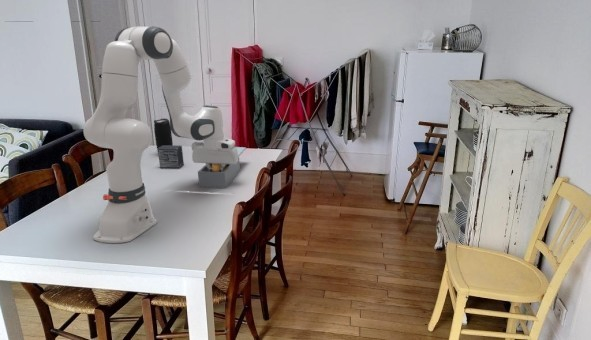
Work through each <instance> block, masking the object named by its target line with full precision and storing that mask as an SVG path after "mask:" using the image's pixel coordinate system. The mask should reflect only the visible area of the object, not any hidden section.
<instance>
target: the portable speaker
mask: <svg viewBox="0 0 591 340" xmlns="http://www.w3.org/2000/svg"><path fill="white" fill-rule="evenodd" d="M153 126H154V127H153V128H154V138H155V139H154V140H155V145H156V149H157V150H156V151H157V152H158V148H159V147H161V146H162V145H170V146H174V143H173V133H172V131H171V128H170V119H169V118H161V119H154V120H153Z"/></svg>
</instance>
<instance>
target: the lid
mask: <svg viewBox="0 0 591 340" xmlns="http://www.w3.org/2000/svg"><path fill="white" fill-rule="evenodd" d="M235 147H236V148H237V152H238V157H239V158H240V156H241V155H242V154H243V153H244V151H245V150H246V149H247V147H243V146H241V147H240V146H235Z"/></svg>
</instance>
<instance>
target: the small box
mask: <svg viewBox="0 0 591 340" xmlns="http://www.w3.org/2000/svg"><path fill="white" fill-rule="evenodd" d="M183 154H184V153H183V146H182V145H173V146H170V145H162V146H161V147H159V148H158V151H157V155H158V161H159V167H160V169H181V168H182V167H183V166H184V165H185V161H184V155H183Z"/></svg>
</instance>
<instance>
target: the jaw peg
mask: <svg viewBox="0 0 591 340" xmlns="http://www.w3.org/2000/svg"><path fill="white" fill-rule="evenodd" d="M219 169H220V164H212V172H220V171H219Z"/></svg>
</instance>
